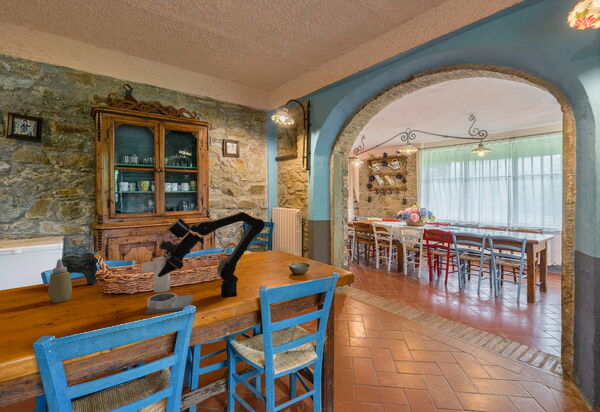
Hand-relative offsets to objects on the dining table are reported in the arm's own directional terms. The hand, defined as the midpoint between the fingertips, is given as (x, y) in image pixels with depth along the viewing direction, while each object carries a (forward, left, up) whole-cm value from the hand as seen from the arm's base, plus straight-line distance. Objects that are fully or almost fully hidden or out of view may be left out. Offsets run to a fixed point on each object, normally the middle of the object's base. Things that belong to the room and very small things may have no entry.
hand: (158, 274), depth 115 cm
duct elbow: (0, +1, -7) cm, 7 cm away
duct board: (-5, -1, -13) cm, 14 cm away
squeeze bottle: (+42, -20, -14) cm, 49 cm away
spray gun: (+45, -44, -14) cm, 65 cm away
